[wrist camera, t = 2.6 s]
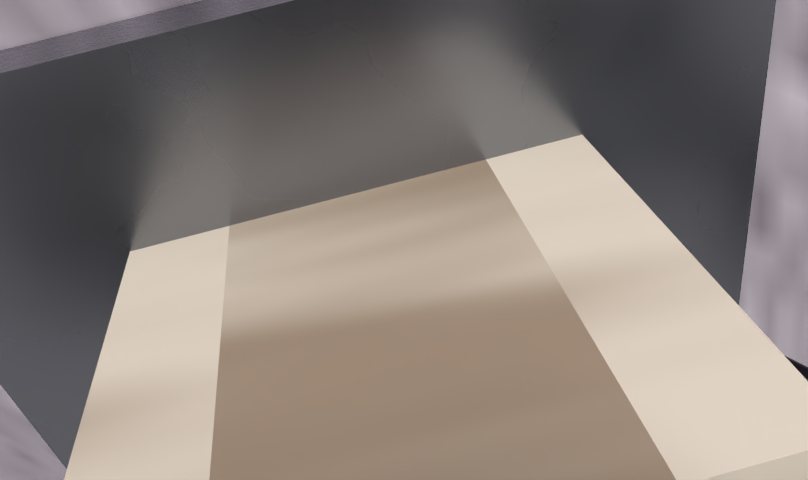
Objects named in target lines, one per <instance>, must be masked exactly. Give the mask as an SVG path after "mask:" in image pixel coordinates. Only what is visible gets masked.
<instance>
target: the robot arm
mask: <svg viewBox="0 0 808 480" xmlns="http://www.w3.org/2000/svg"><path fill="white" fill-rule="evenodd" d="M784 356H785V355H784ZM785 357H786V358H787V359H788V360H789V361H790V362H791V363H792V365H793V366H794V367H795V368H796V369H797V370H798V371H799V372H800V373H801V374H802V375H803V377H804V378H805V379H806V380H807V381H808V367H806V366H804V365H802V364H800V363H798V362H796V361H794V360H792V359H790V358H788V357H787V356H785Z"/></svg>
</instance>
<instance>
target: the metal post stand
mask: <svg viewBox="0 0 808 480" xmlns="http://www.w3.org/2000/svg"><path fill="white" fill-rule="evenodd" d="M775 4H776V0H203V1H199V2H195V3H191V4H187V5H183V6H179V7H175V8H171V9H167V10H163V11H159V12H155V13H151V14H147V15H143V16H139V17H135V18H131V19H127V20H123V21H119V22H115V23H111V24H107V25H103V26H99V27H94V28H90V29H86V30H82V31H78V32H74V33H70V34H66V35H62V36H58V37H54V38H50V39H46V40H42V41H38V42H34V43H30V44H26V45H22V46H18V47H14V48H10V49H6V50H2V51H0V384H1V386H2V387H3V388H4V389H5V391H6V392H7V393H8V395H9V396H10V397H11V398H12V400H13V401H14V402H15V403H16V405H17V406H18V407H19V409H20V410H21V411H22V412H23V414H24V415H25V416H26V418H27V419H28V420H29V421H30V423H31V424H32V425H33V426H34V428H35V429H36V430H37V432H38V433H39V434H40V435H41V437H42V438H43V439H44V440H45V442H46V443H47V444H48V446H49V447H50V448H51V449H52V451H53V452H54V453H55V455H56V456H57V457H58V458H59V460H60V461H61V462H62V463H63V465H64V466H65V467H66V469H67V467H68V464H69V460H70V457H71V453H72V450H73V446H74V443H75V440H76V436H77V433H78V429H79V426H80V422H81V419H82V415H83V412H84V408H85V405H86V401H87V398H88V395H89V391H90V388H91V384H92V381H93V377H94V374H95V370H96V367H97V363H98V360H99V357H100V353H101V350H102V346H103V343H104V339H105V336H106V332H107V329H108V325H109V322H110V319H111V315H112V312H113V308H114V305H115V301H116V298H117V294H118V291H119V287H120V284H121V281H122V277H123V274H124V270H125V267H126V263H127V260H128V256H129V253H130V251H134V250H138V249H142V248H145V247H149V246H153V245H157V244H161V243H165V242H169V241H173V240H176V239H180V238H184V237H188V236H192V235H196V234H200V233H203V232H207V231H211V230H215V229H219V228H223V227H227V226H231V225H234V224H238V223H242V222H246V221H250V220H254V219H258V218H261V217H265V216H269V215H273V214H277V213H281V212H285V211H289V210H292V209H296V208H300V207H304V206H308V205H312V204H316V203H319V202H323V201H327V200H331V199H335V198H339V197H343V196H347V195H350V194H354V193H358V192H362V191H366V190H370V189H374V188H377V187H381V186H385V185H389V184H393V183H397V182H401V181H405V180H408V179H412V178H416V177H420V176H424V175H428V174H432V173H435V172H439V171H443V170H447V169H451V168H455V167H459V166H463V165H466V164H470V163H474V162H478V161H482V160H486V159H490V158H493V157H497V156H501V155H505V154H509V153H513V152H517V151H521V150H524V149H528V148H532V147H536V146H540V145H544V144H548V143H551V142H555V141H559V140H563V139H567V138H571V137H575V136H579V135H583V136H584V137H585V138H586V139H587V140H588V141H589V142H590V144H591V145H592V146H593V147H594V148H595V149H596V150H597V151H598V152H599V153H600V154H601V156H602V157H603V158H604V159H605V160H606V161H607V162H608V163H609V164H610V165H611V167H612V168H613V169H614V170H615V171H616V172H617V173H618V174H619V175H620V176H621V177H622V179H623V180H624V181H625V182H626V183H627V184H628V185H629V186H630V187H631V188H632V189H633V191H634V192H635V193H636V194H637V195H638V196H639V197H640V198H641V199H642V200H643V202H644V203H645V204H646V205H647V206H648V207H649V208H650V209H651V210H652V211H653V212H654V214H655V215H656V216H657V217H658V218H659V219H660V220H661V221H662V222H663V223H664V224H665V226H666V227H667V228H668V229H669V230H670V231H671V232H672V233H673V234H674V235H675V237H676V238H677V239H678V240H679V241H680V242H681V243H682V244H683V245H684V246H685V247H686V249H687V250H688V251H689V252H690V253H691V254H692V255H693V256H694V257H695V258H696V260H697V261H698V262H699V263H700V264H701V265H702V266H703V267H704V268H705V269H706V270H707V272H708V273H709V274H710V275H711V276H712V277H713V278H714V279H715V280H716V281H717V282H718V284H719V285H720V286H721V287H722V288H723V289H724V290H725V291H726V292H727V293H728V295H729V296H730V297H731V298H732V299H733V300H734V301H735V302H736V303H737V304H738V305H739V298H740V290H741V282H742V273H743V265H744V257H745V249H746V241H747V233H748V224H749V216H750V208H751V200H752V192H753V184H754V175H755V167H756V159H757V151H758V143H759V135H760V126H761V118H762V110H763V102H764V94H765V86H766V77H767V69H768V61H769V53H770V45H771V37H772V28H773V20H774V12H775Z"/></svg>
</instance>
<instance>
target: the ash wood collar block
mask: <svg viewBox="0 0 808 480" xmlns="http://www.w3.org/2000/svg"><path fill="white" fill-rule="evenodd" d="M64 480H808V381H807V380H806V379H805V378H804V377H803V375H802V374H801V373H800V372H799V371H798V370H797V369H796V368H795V367H794V366H793V365H792V363H791V362H790V361H789V360H788V359H787V358H786V357H785V356H784V355H783V354H782V352H781V351H780V350H779V349H778V348H777V347H776V346H775V345H774V344H773V343H772V342H771V340H770V339H769V338H768V337H767V336H766V335H765V334H764V333H763V332H762V331H761V330H760V328H759V327H758V326H757V325H756V324H755V323H754V322H753V321H752V320H751V319H750V317H749V316H748V315H747V314H746V313H745V312H744V311H743V310H742V309H741V308H740V307H739V305H738V304H737V303H736V302H735V301H734V300H733V299H732V298H731V297H730V296H729V295H728V293H727V292H726V291H725V290H724V289H723V288H722V287H721V286H720V285H719V284H718V282H717V281H716V280H715V279H714V278H713V277H712V276H711V275H710V274H709V273H708V272H707V270H706V269H705V268H704V267H703V266H702V265H701V264H700V263H699V262H698V261H697V260H696V258H695V257H694V256H693V255H692V254H691V253H690V252H689V251H688V250H687V249H686V247H685V246H684V245H683V244H682V243H681V242H680V241H679V240H678V239H677V238H676V237H675V235H674V234H673V233H672V232H671V231H670V230H669V229H668V228H667V227H666V226H665V224H664V223H663V222H662V221H661V220H660V219H659V218H658V217H657V216H656V215H655V214H654V212H653V211H652V210H651V209H650V208H649V207H648V206H647V205H646V204H645V203H644V202H643V200H642V199H641V198H640V197H639V196H638V195H637V194H636V193H635V192H634V191H633V189H632V188H631V187H630V186H629V185H628V184H627V183H626V182H625V181H624V180H623V179H622V177H621V176H620V175H619V174H618V173H617V172H616V171H615V170H614V169H613V168H612V167H611V165H610V164H609V163H608V162H607V161H606V160H605V159H604V158H603V157H602V156H601V154H600V153H599V152H598V151H597V150H596V149H595V148H594V147H593V146H592V145H591V144H590V142H589V141H588V140H587V139H586V138H585V137H584V136H583V135H579V136H575V137H571V138H567V139H563V140H559V141H555V142H551V143H548V144H544V145H540V146H536V147H532V148H528V149H524V150H521V151H517V152H513V153H509V154H505V155H501V156H497V157H493V158H490V159H486V160H482V161H478V162H474V163H470V164H466V165H463V166H459V167H455V168H451V169H447V170H443V171H439V172H435V173H432V174H428V175H424V176H420V177H416V178H412V179H408V180H405V181H401V182H397V183H393V184H389V185H385V186H381V187H377V188H374V189H370V190H366V191H362V192H358V193H354V194H350V195H347V196H343V197H339V198H335V199H331V200H327V201H323V202H319V203H316V204H312V205H308V206H304V207H300V208H296V209H292V210H289V211H285V212H281V213H277V214H273V215H269V216H265V217H261V218H258V219H254V220H250V221H246V222H242V223H238V224H234V225H231V226H227V227H223V228H219V229H215V230H211V231H207V232H203V233H200V234H196V235H192V236H188V237H184V238H180V239H176V240H173V241H169V242H165V243H161V244H157V245H153V246H149V247H145V248H142V249H138V250H134V251H130V253H129V256H128V260H127V263H126V267H125V270H124V274H123V277H122V281H121V284H120V287H119V291H118V294H117V298H116V301H115V305H114V308H113V312H112V315H111V319H110V322H109V325H108V329H107V332H106V336H105V339H104V343H103V346H102V350H101V353H100V357H99V360H98V363H97V367H96V370H95V374H94V377H93V381H92V384H91V388H90V391H89V395H88V398H87V401H86V405H85V408H84V412H83V415H82V419H81V422H80V426H79V429H78V433H77V436H76V440H75V443H74V446H73V450H72V453H71V457H70V460H69V464H68V467H67V471H66V474H65V478H64Z"/></svg>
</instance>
